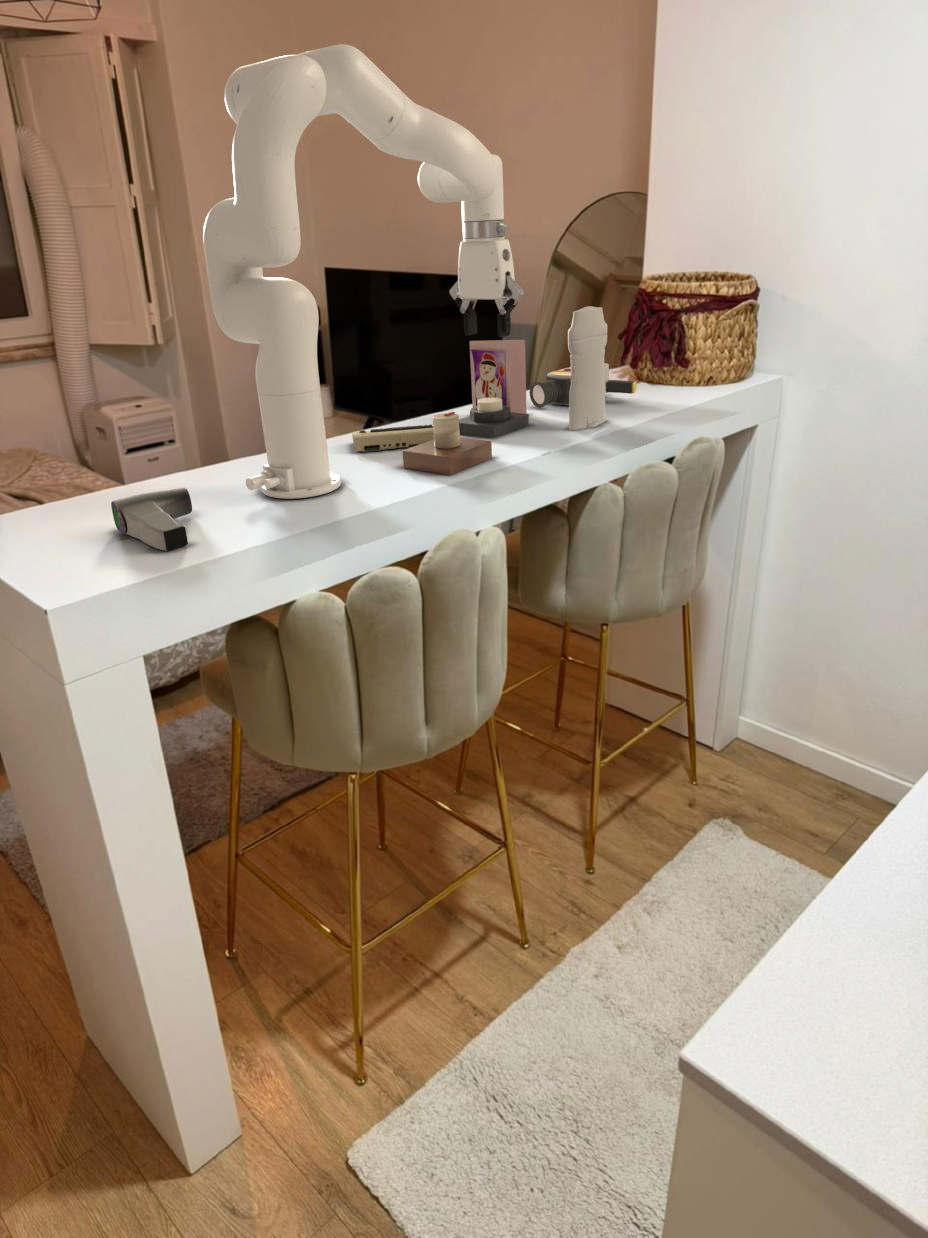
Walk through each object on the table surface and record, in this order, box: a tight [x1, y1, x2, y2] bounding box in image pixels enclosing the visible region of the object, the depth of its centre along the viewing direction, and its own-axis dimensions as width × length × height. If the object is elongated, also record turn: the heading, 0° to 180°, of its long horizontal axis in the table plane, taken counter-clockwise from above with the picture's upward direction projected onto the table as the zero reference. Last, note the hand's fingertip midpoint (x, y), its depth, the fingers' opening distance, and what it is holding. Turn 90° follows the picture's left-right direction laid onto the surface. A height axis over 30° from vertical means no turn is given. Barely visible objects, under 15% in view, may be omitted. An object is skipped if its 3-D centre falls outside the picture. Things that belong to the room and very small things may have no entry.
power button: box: [477, 398, 502, 412], centre depth 172 cm, size 5×5×2 cm
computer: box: [351, 424, 434, 452], centre depth 165 cm, size 16×8×3 cm, turn 99°
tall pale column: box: [567, 305, 608, 431], centre depth 168 cm, size 11×4×22 cm, turn 132°
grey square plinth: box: [459, 405, 530, 439], centre depth 173 cm, size 12×10×4 cm
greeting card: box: [469, 339, 528, 414], centre depth 181 cm, size 11×7×15 cm, turn 42°
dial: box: [432, 411, 461, 449], centre depth 150 cm, size 4×4×5 cm
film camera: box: [529, 362, 638, 409], centre depth 189 cm, size 7×19×15 cm
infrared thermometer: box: [110, 487, 193, 552], centre depth 125 cm, size 5×12×15 cm
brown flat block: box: [402, 436, 493, 476], centre depth 151 cm, size 12×10×3 cm
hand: (487, 334), depth 166 cm, fingers open, 6 cm apart
